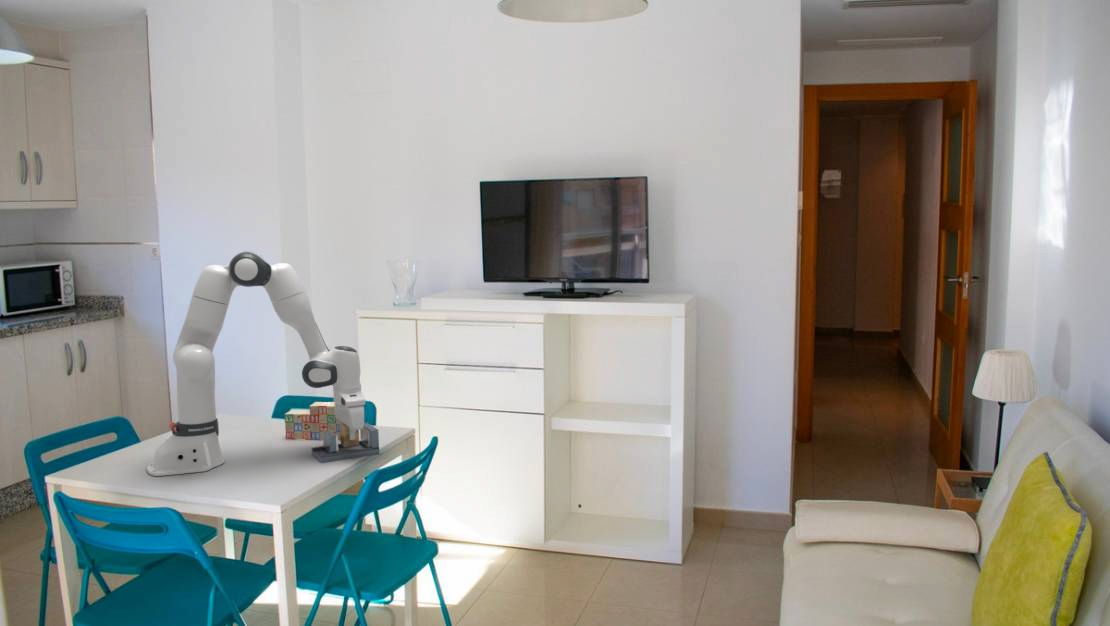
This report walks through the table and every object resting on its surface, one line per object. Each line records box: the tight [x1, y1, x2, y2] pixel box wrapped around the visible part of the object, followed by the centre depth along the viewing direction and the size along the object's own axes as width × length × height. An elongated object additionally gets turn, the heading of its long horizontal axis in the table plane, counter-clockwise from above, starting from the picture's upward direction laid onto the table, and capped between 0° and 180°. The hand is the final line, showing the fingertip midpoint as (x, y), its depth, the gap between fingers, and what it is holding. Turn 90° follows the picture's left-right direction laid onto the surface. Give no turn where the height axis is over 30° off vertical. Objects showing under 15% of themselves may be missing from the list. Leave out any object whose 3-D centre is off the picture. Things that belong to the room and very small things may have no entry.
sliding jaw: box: [322, 430, 339, 453], centre depth 293 cm, size 2×8×6 cm, turn 30°
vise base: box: [311, 422, 380, 463], centre depth 296 cm, size 19×11×8 cm, turn 120°
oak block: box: [339, 423, 360, 447], centre depth 296 cm, size 5×4×7 cm
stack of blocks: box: [284, 401, 342, 441], centre depth 317 cm, size 21×6×12 cm, turn 84°
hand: (349, 437), depth 297 cm, fingers closed on oak block, 4 cm apart
